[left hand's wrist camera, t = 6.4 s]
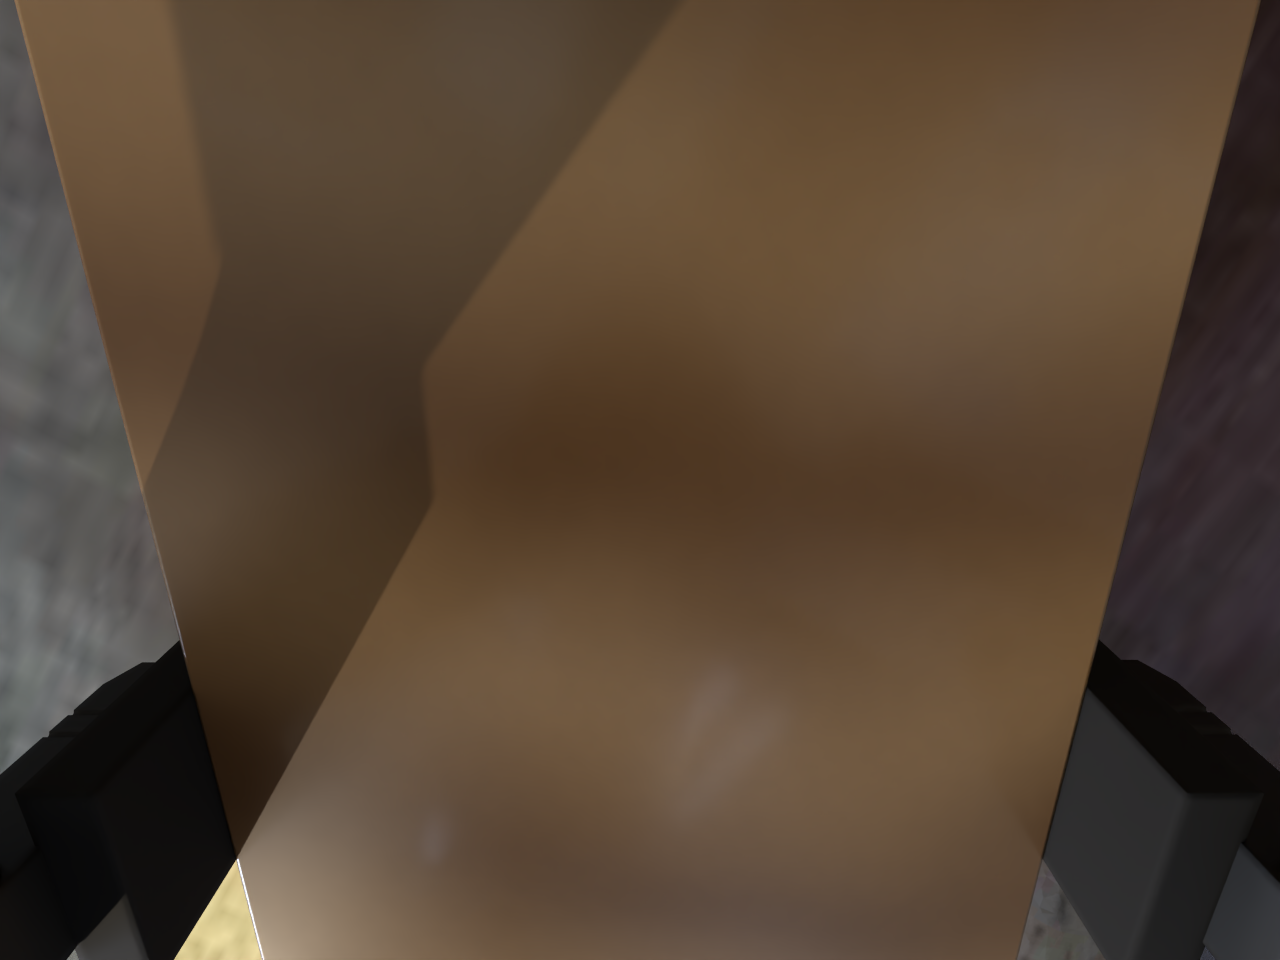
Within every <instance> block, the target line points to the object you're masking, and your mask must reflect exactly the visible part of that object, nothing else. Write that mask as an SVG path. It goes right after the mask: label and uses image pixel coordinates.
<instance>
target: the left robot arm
mask: <svg viewBox="0 0 1280 960" xmlns="http://www.w3.org/2000/svg"><path fill="white" fill-rule="evenodd" d="M1230 730H1231V729H1230V728H1229V727H1228V726H1227V725H1226V724H1224V723H1223V722H1222V721H1221V720H1220V719H1219V718H1218V717H1216V716H1215V715H1214V714H1213V713H1212V712H1207V711H1206V707H1205V706H1204V705H1203V704H1202V703H1200V702H1199V701H1198V700H1197V699H1196V698H1195V697H1194V696H1192V695H1191V694H1190V693H1189V692H1188V691H1187V690H1186V689H1184V688H1183V687H1182V686H1181V685H1180V684H1179V683H1178V682H1176V681H1174V680H1173V679H1171V678H1169V677H1167V676H1165V675H1164V674H1162V673H1160V672H1158V671H1156V670H1155V669H1153V668H1151V667H1149V666H1147V665H1146V664H1144V663H1142V662H1140V661H1138V660H1120V659H1119V658H1118V657H1117V656H1116V655H1115V654H1114V653H1113V652H1112V651H1111V650H1110V649H1109V648H1108V647H1106V646H1105V645H1104V644H1103V643H1102V642H1101V641H1100V640H1099V639H1098V643H1097V647H1096V651H1095V655H1094V659H1093V663H1092V667H1091V671H1090V675H1089V679H1088V683H1087V687H1086V690H1085V694H1084V698H1083V702H1082V706H1081V710H1080V714H1079V718H1078V722H1077V726H1076V730H1075V734H1074V738H1073V742H1072V746H1071V749H1070V753H1069V757H1068V761H1067V765H1066V769H1065V773H1064V777H1063V781H1062V785H1061V789H1060V793H1059V797H1058V801H1057V804H1056V808H1055V812H1054V816H1053V820H1052V824H1051V828H1050V832H1049V836H1048V840H1047V844H1046V848H1045V852H1044V856H1043V860H1044V862H1045V864H1046V865H1047V867H1048V868H1049V870H1050V872H1051V873H1052V875H1053V876H1054V878H1055V880H1056V881H1057V883H1058V884H1059V886H1060V888H1061V889H1062V891H1063V892H1064V894H1065V896H1066V897H1067V899H1068V900H1069V902H1070V904H1071V905H1072V907H1073V908H1074V910H1075V912H1076V913H1077V915H1078V916H1079V918H1080V920H1081V921H1082V923H1083V925H1084V926H1085V928H1086V929H1087V931H1088V933H1089V934H1090V936H1091V937H1092V939H1093V941H1094V942H1095V944H1096V945H1097V947H1098V949H1099V950H1100V952H1101V953H1102V955H1103V957H1104V958H1105V960H1200V958H1201V955H1202V953H1203V950H1204V948H1205V946H1206V948H1207V949H1208V950H1209V951H1210V953H1211V954H1212V955H1213V957H1214V958H1215V959H1216V960H1280V772H1279V771H1278V770H1277V769H1276V768H1275V767H1274V766H1273V765H1271V764H1270V763H1269V762H1268V761H1267V760H1266V759H1264V758H1263V757H1262V756H1261V755H1260V754H1259V753H1258V752H1256V751H1255V750H1254V749H1253V748H1252V747H1251V746H1250V745H1248V744H1247V743H1246V742H1245V741H1244V740H1243V739H1242V738H1240V737H1239V736H1238V735H1237V734H1231V731H1230ZM235 861H236V856H235V853H234V849H233V845H232V841H231V837H230V833H229V829H228V825H227V822H226V818H225V814H224V810H223V806H222V802H221V798H220V795H219V791H218V787H217V783H216V779H215V775H214V771H213V767H212V764H211V760H210V756H209V752H208V748H207V744H206V740H205V736H204V733H203V729H202V725H201V721H200V717H199V713H198V709H197V705H196V702H195V698H194V694H193V690H192V686H191V682H190V678H189V674H188V671H187V667H186V663H185V659H184V655H183V651H182V647H181V643H180V640H179V641H178V642H177V643H176V644H175V645H174V646H173V647H172V648H171V649H169V650H168V651H167V652H166V653H165V654H164V655H163V656H162V657H161V658H160V659H159V660H158V661H157V662H150V663H140V664H139V665H137V666H135V667H133V668H131V669H130V670H128V671H126V672H124V673H123V674H121V675H119V676H117V677H115V678H114V679H112V680H110V681H108V682H106V683H105V684H103V685H102V686H101V687H100V688H98V689H97V690H96V691H95V692H94V693H93V694H92V695H90V696H89V697H88V698H87V699H86V700H85V701H84V702H83V703H81V704H80V705H79V706H78V707H77V708H76V709H75V710H74V714H73V715H68V716H67V717H65V718H64V719H63V720H62V721H61V722H60V723H59V724H58V725H56V726H55V727H54V728H53V729H52V730H51V731H50V732H49V736H48V737H43V738H42V739H40V740H39V741H38V742H37V743H36V744H35V745H34V746H32V747H31V748H30V749H29V750H28V751H27V752H26V753H25V754H23V755H22V756H21V757H20V758H19V759H18V760H17V761H15V762H14V763H13V764H12V765H11V766H10V767H9V768H7V769H6V770H5V771H4V772H3V773H2V774H1V775H0V960H67V958H68V957H69V956H70V954H71V953H72V952H73V951H74V949H75V950H76V953H77V955H78V958H79V960H174V959H175V957H176V955H177V954H178V952H179V951H180V949H181V947H182V946H183V944H184V943H185V941H186V939H187V938H188V936H189V934H190V933H191V931H192V930H193V928H194V926H195V925H196V923H197V922H198V920H199V918H200V917H201V915H202V914H203V912H204V910H205V909H206V907H207V906H208V904H209V902H210V901H211V899H212V898H213V896H214V894H215V893H216V891H217V890H218V888H219V886H220V885H221V883H222V882H223V880H224V878H225V877H226V875H227V873H228V872H229V870H230V869H231V867H232V865H233V864H234V862H235Z"/></svg>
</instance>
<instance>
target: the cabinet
mask: <svg viewBox="0 0 1280 960" xmlns="http://www.w3.org/2000/svg"><path fill="white" fill-rule="evenodd" d="M1260 3H1261V0H15V4H16V8H17V12H18V16H19V20H20V24H21V28H22V31H23V35H24V39H25V43H26V47H27V51H28V55H29V59H30V62H31V66H32V70H33V74H34V78H35V82H36V86H37V90H38V93H39V97H40V101H41V105H42V109H43V113H44V117H45V121H46V124H47V128H48V132H49V136H50V140H51V144H52V148H53V152H54V155H55V159H56V163H57V167H58V171H59V175H60V179H61V183H62V186H63V190H64V194H65V198H66V202H67V206H68V210H69V214H70V217H71V221H72V225H73V229H74V233H75V237H76V241H77V244H78V248H79V252H80V256H81V260H82V264H83V268H84V272H85V275H86V279H87V283H88V287H89V291H90V295H91V299H92V303H93V306H94V310H95V314H96V318H97V322H98V326H99V330H100V334H101V337H102V341H103V345H104V349H105V353H106V357H107V361H108V365H109V368H110V372H111V376H112V380H113V384H114V388H115V392H116V396H117V399H118V403H119V407H120V411H121V415H122V419H123V423H124V427H125V430H126V434H127V438H128V442H129V446H130V450H131V454H132V458H133V461H134V465H135V469H136V473H137V477H138V481H139V485H140V489H141V492H142V496H143V500H144V504H145V508H146V512H147V516H148V519H149V523H150V527H151V531H152V535H153V539H154V543H155V547H156V550H157V554H158V558H159V562H160V566H161V570H162V574H163V578H164V581H165V585H166V589H167V593H168V597H169V601H170V605H171V609H172V612H173V616H174V620H175V624H176V628H177V632H178V636H179V640H180V643H181V647H182V651H183V655H184V659H185V663H186V667H187V671H188V674H189V678H190V682H191V686H192V690H193V694H194V698H195V702H196V705H197V709H198V713H199V717H200V721H201V725H202V729H203V733H204V736H205V740H206V744H207V748H208V752H209V756H210V760H211V764H212V767H213V771H214V775H215V779H216V783H217V787H218V791H219V795H220V798H221V802H222V806H223V810H224V814H225V818H226V822H227V825H228V829H229V833H230V837H231V841H232V845H233V849H234V853H235V856H236V860H237V864H238V868H239V872H240V876H241V880H242V884H243V887H244V891H245V895H246V899H247V903H248V907H249V911H250V915H251V918H252V922H253V926H254V930H255V934H256V938H257V942H258V946H259V949H260V953H261V957H262V960H1017V958H1018V954H1019V950H1020V946H1021V942H1022V938H1023V934H1024V930H1025V926H1026V922H1027V918H1028V915H1029V911H1030V907H1031V903H1032V899H1033V895H1034V891H1035V887H1036V883H1037V879H1038V875H1039V871H1040V867H1041V863H1042V860H1043V856H1044V852H1045V848H1046V844H1047V840H1048V836H1049V832H1050V828H1051V824H1052V820H1053V816H1054V812H1055V808H1056V804H1057V801H1058V797H1059V793H1060V789H1061V785H1062V781H1063V777H1064V773H1065V769H1066V765H1067V761H1068V757H1069V753H1070V749H1071V746H1072V742H1073V738H1074V734H1075V730H1076V726H1077V722H1078V718H1079V714H1080V710H1081V706H1082V702H1083V698H1084V694H1085V690H1086V687H1087V683H1088V679H1089V675H1090V671H1091V667H1092V663H1093V659H1094V655H1095V651H1096V647H1097V643H1098V639H1099V635H1100V632H1101V628H1102V624H1103V620H1104V616H1105V612H1106V608H1107V604H1108V600H1109V596H1110V592H1111V588H1112V584H1113V580H1114V576H1115V573H1116V569H1117V565H1118V561H1119V557H1120V553H1121V549H1122V545H1123V541H1124V537H1125V533H1126V529H1127V525H1128V521H1129V518H1130V514H1131V510H1132V506H1133V502H1134V498H1135V494H1136V490H1137V486H1138V482H1139V478H1140V474H1141V470H1142V466H1143V462H1144V459H1145V455H1146V451H1147V447H1148V443H1149V439H1150V435H1151V431H1152V427H1153V423H1154V419H1155V415H1156V411H1157V407H1158V404H1159V400H1160V396H1161V392H1162V388H1163V384H1164V380H1165V376H1166V372H1167V368H1168V364H1169V360H1170V356H1171V352H1172V349H1173V345H1174V341H1175V337H1176V333H1177V329H1178V325H1179V321H1180V317H1181V313H1182V309H1183V305H1184V301H1185V297H1186V293H1187V290H1188V286H1189V282H1190V278H1191V274H1192V270H1193V266H1194V262H1195V258H1196V254H1197V250H1198V246H1199V242H1200V238H1201V235H1202V231H1203V227H1204V223H1205V219H1206V215H1207V211H1208V207H1209V203H1210V199H1211V195H1212V191H1213V187H1214V183H1215V179H1216V176H1217V172H1218V168H1219V164H1220V160H1221V156H1222V152H1223V148H1224V144H1225V140H1226V136H1227V132H1228V128H1229V124H1230V121H1231V117H1232V113H1233V109H1234V105H1235V101H1236V97H1237V93H1238V89H1239V85H1240V81H1241V77H1242V73H1243V69H1244V65H1245V62H1246V58H1247V54H1248V50H1249V46H1250V42H1251V38H1252V34H1253V30H1254V26H1255V22H1256V18H1257V14H1258V10H1259V7H1260Z"/></svg>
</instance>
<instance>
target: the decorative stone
mask: <svg viewBox="0 0 1280 960" xmlns="http://www.w3.org/2000/svg"><path fill="white" fill-rule="evenodd" d="M1017 960H1105V958H1104V957H1103V955H1102V953H1101V952H1100V950H1099V949H1098V947H1097V945H1096V944H1095V942H1094V941H1093V939H1092V937H1091V936H1090V934H1089V933H1088V931H1087V929H1086V928H1085V926H1084V925H1083V923H1082V921H1081V920H1080V918H1079V916H1078V915H1077V913H1076V912H1075V910H1074V908H1073V907H1072V905H1071V904H1070V902H1069V900H1068V899H1067V897H1066V896H1065V894H1064V892H1063V891H1062V889H1061V888H1060V886H1059V884H1058V883H1057V881H1056V880H1055V878H1054V876H1053V875H1052V873H1051V872H1050V870H1049V868H1048V867H1047V865H1046V864H1045V862H1044V860H1042V863H1041V867H1040V871H1039V875H1038V879H1037V883H1036V887H1035V891H1034V895H1033V899H1032V903H1031V907H1030V911H1029V915H1028V918H1027V922H1026V926H1025V930H1024V934H1023V938H1022V942H1021V946H1020V950H1019V954H1018V958H1017Z"/></svg>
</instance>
